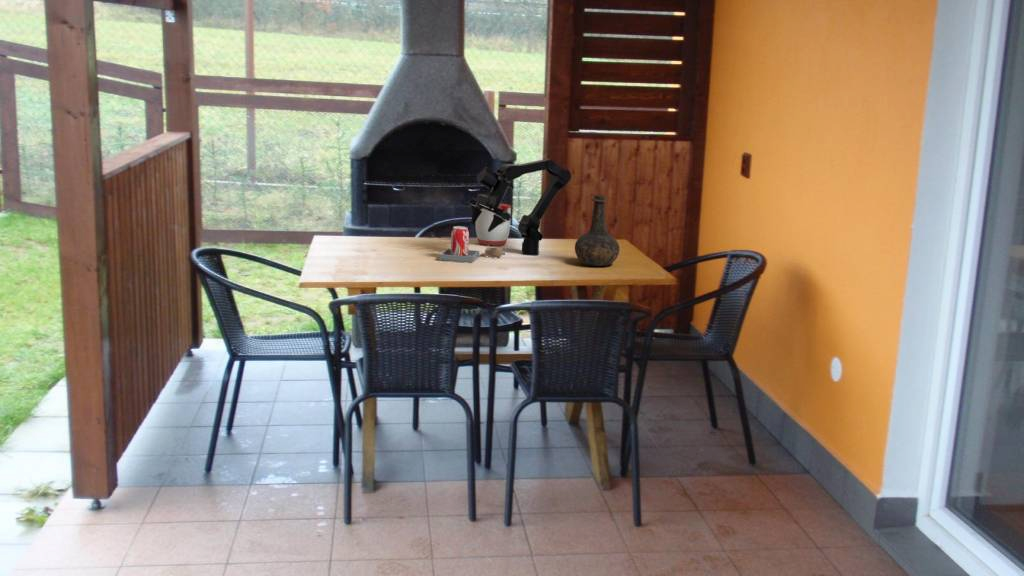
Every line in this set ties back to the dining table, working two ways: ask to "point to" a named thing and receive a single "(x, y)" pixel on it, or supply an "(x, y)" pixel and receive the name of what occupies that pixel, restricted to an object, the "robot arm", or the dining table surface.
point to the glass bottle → (597, 239)
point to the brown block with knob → (494, 252)
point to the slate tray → (456, 258)
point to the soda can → (459, 241)
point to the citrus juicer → (497, 234)
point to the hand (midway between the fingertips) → (480, 228)
